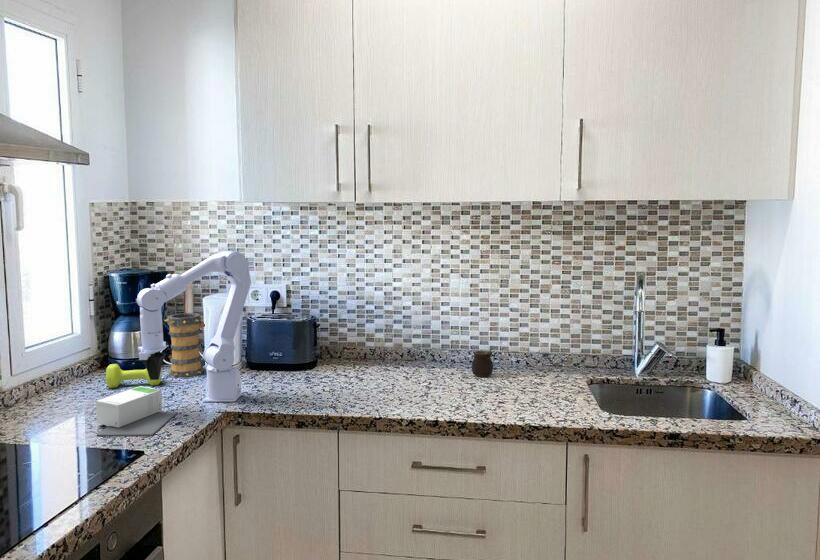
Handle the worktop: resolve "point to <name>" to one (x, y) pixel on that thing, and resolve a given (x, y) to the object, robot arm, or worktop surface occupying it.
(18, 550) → the worktop surface
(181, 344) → the mug
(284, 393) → the worktop surface
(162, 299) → the robot arm
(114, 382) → the dumbbell
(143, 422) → the charcoal rubber mat
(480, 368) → the mate gourd
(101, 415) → the skincare box
